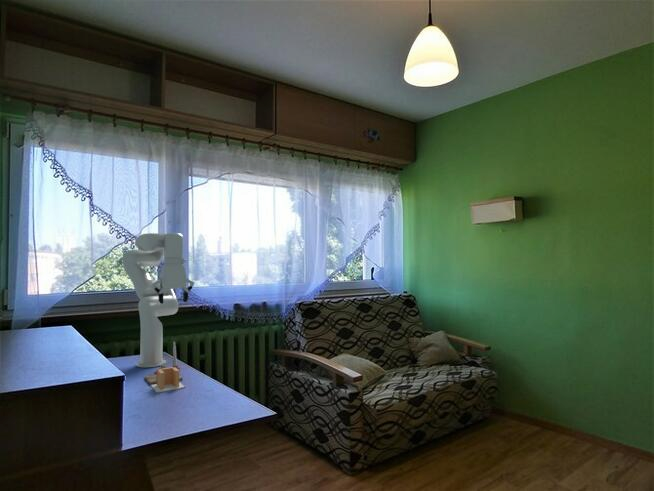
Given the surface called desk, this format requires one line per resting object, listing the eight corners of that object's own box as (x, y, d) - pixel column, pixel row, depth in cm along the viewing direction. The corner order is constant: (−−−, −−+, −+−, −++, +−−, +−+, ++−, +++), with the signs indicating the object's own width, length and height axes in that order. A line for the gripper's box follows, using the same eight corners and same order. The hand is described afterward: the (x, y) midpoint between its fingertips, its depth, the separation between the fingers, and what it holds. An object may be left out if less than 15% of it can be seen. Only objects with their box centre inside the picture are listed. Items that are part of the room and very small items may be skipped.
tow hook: (151, 375, 177) (173, 374, 176) (150, 344, 177) (172, 343, 177) (160, 370, 185) (181, 369, 185) (159, 340, 186) (179, 340, 185)
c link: (156, 385, 159) (156, 369, 159) (174, 382, 163) (174, 366, 163) (160, 389, 153) (160, 373, 153) (179, 386, 157) (179, 370, 157)
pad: (151, 386, 159) (151, 385, 159) (178, 381, 165) (178, 380, 165) (156, 392, 151) (156, 391, 151) (184, 387, 157) (184, 386, 157)
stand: (144, 378, 170) (144, 364, 170) (175, 373, 177) (175, 360, 177) (150, 385, 160) (150, 371, 160) (182, 380, 167) (182, 366, 167)
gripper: (191, 262, 185) (191, 300, 184) (150, 262, 176) (149, 303, 175) (196, 262, 179) (196, 301, 178) (153, 262, 169) (153, 304, 169)
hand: (173, 302), depth 177 cm, fingers open, 9 cm apart
